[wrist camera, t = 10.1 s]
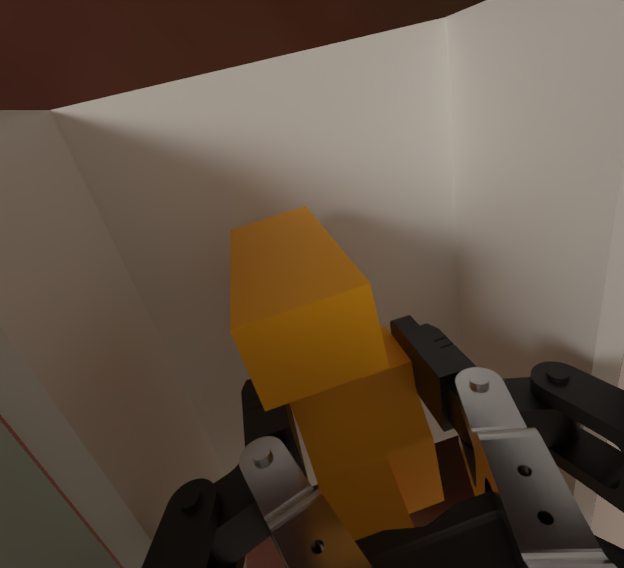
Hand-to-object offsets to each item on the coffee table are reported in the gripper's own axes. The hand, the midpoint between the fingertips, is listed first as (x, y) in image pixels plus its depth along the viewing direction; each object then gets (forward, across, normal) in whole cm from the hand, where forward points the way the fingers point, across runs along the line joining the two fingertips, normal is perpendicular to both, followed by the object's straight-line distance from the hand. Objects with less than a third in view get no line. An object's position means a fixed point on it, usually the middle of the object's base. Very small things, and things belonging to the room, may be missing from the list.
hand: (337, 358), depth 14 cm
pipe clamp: (+1, 0, 0) cm, 1 cm away
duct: (+4, 0, 0) cm, 4 cm away
